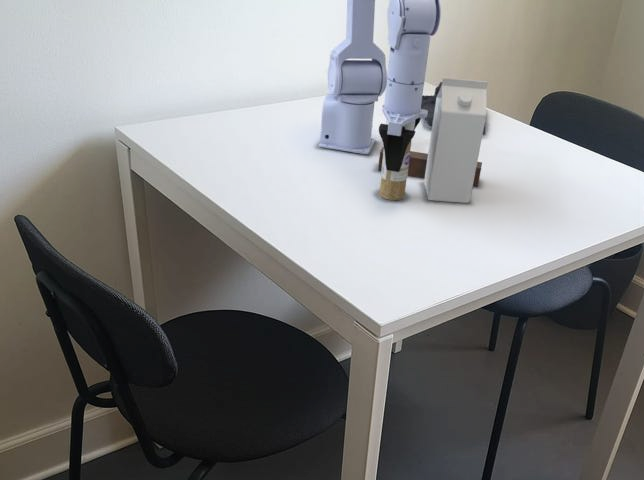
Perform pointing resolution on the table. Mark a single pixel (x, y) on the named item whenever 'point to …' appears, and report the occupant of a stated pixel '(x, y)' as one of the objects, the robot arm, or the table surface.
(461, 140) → the milk carton
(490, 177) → the table surface
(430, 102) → the dark slate chunk
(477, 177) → the walnut rail
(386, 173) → the sprinkles bottle
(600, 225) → the table surface
